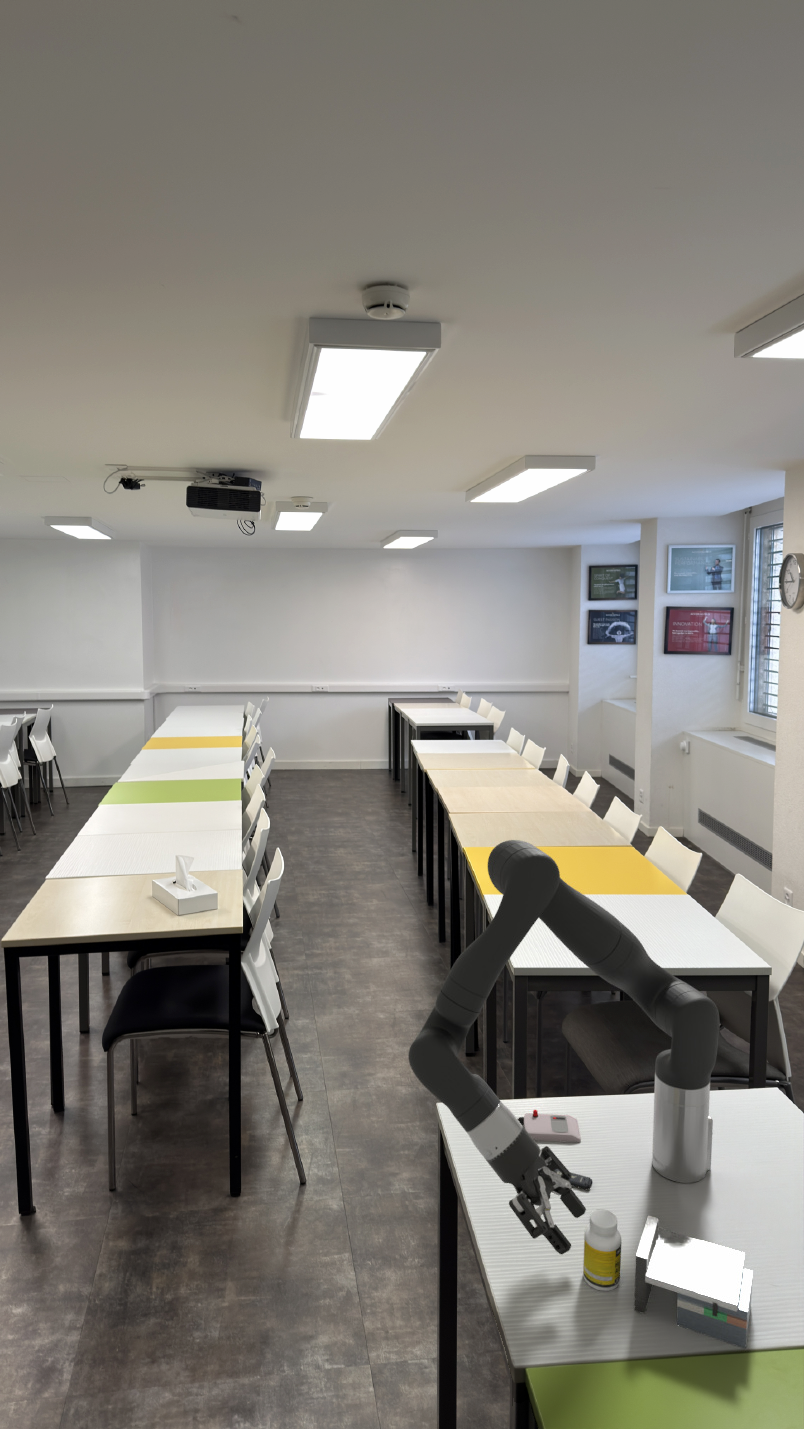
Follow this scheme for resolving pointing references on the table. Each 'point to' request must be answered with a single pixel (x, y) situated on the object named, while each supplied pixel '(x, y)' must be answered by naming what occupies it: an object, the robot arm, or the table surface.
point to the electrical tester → (551, 1127)
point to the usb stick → (579, 1180)
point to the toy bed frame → (686, 1268)
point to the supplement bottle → (602, 1251)
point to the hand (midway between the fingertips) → (574, 1232)
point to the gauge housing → (718, 1315)
